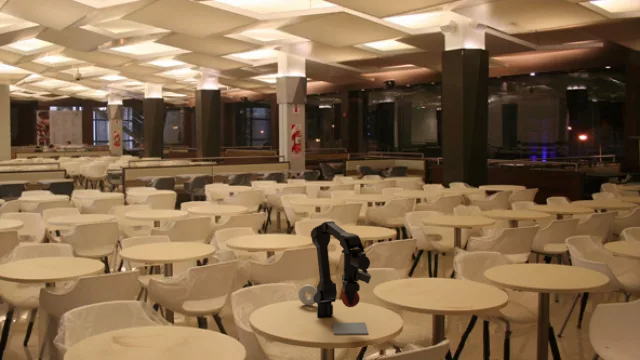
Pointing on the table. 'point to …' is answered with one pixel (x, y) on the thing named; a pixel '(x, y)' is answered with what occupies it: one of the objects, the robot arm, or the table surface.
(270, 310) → the table surface
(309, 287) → the donut
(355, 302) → the apple
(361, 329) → the mat
